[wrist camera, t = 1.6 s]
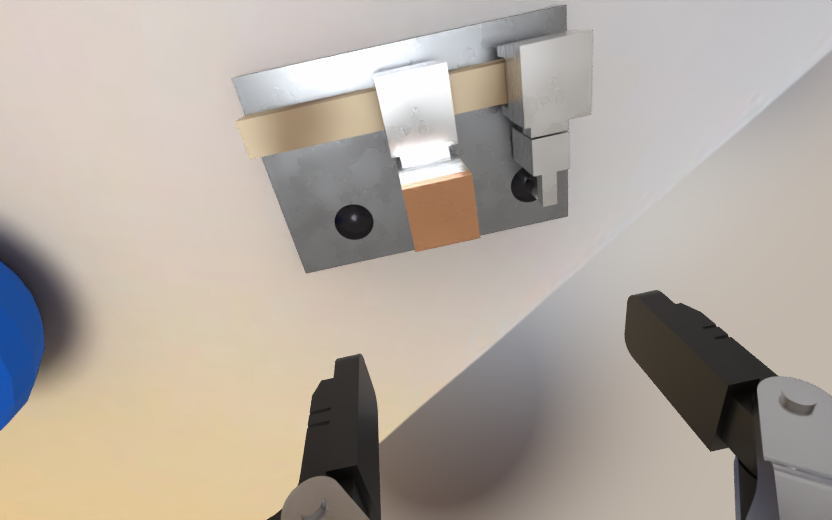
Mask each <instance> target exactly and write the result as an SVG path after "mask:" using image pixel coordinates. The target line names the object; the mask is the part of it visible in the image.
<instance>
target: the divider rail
mask: <svg viewBox="0 0 832 520" xmlns="http://www.w3.org/2000/svg"><path fill="white" fill-rule="evenodd" d="M448 74H449V81H450V89H451V96H452V103H453V110H454V115H455V114H460V113H464V112H469V111H473V110H478V109H483V108H487V107H492V106H496V105H501V104H505V103H508V94H507V81H506V68H505V58H503V59H499V60H494V61H490V62H485V63H481V64H476V65H471V66H467V67H462V68H458V69H453V70H449V71H448ZM236 125H237V127H238V130H239V132H240V135H241V137H242V140H243V142H244V145H245V147H246V150H247V153H248V155H249V158H250V159H255V158H259V157H264V156H268V155H273V154H277V153H282V152H287V151H291V150H296V149H300V148H305V147H309V146H314V145H318V144H323V143H328V142H332V141H337V140H341V139H346V138H350V137H355V136H359V135H364V134H369V133H373V132H378V131H382V130H385V126H384V121H383V117H382V112H381V108H380V103H379V99H378V94H377V90H376V87H371V88H367V89H362V90H358V91H353V92H349V93H344V94H340V95H335V96H330V97H326V98H321V99H317V100H312V101H308V102H303V103H299V104H294V105H289V106H285V107H280V108H276V109H271V110H267V111H262V112H258V113H253V114H249V115H245V116H243V117H242V118H240V119H239V120H237V121H236Z"/></svg>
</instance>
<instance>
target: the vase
mask: <svg viewBox="0 0 832 520" xmlns="http://www.w3.org/2000/svg"><path fill="white" fill-rule="evenodd" d="M44 349H45V347H44V331H43V325H42V320H41V316H40V312H39V309H38V307H37V305H36V302H35V300H34V298H33V295H32V293H31V292H30V291H29V289H28V288H27V287H26V286H25V284H24V283H23V282H22V281H21V279H20V278H19V277H18V275H16V274H15V273H14V272H13V271H12V270H11V269H9V268H8V267H7V266H6V265H5V264H4V263H2V262H1V261H0V431H1V430H2V429H3V428H4V427H5V426H6V425H7V424H8V423H9V421H10V420H11V419H12V418H13V417H14V416H15V415H16V414H17V412H18V411H19V410H20V409H21V408H22V407H23V406H24V405H25V403H26V402H27V401H28V398H29V396H30V393H31V390H32V388H33V385H34V383H35V380H36V376H37V373H38V370H39V366H40V363H41V359H42V356H43V353H44Z"/></svg>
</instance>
